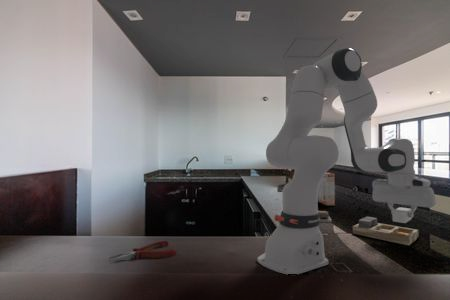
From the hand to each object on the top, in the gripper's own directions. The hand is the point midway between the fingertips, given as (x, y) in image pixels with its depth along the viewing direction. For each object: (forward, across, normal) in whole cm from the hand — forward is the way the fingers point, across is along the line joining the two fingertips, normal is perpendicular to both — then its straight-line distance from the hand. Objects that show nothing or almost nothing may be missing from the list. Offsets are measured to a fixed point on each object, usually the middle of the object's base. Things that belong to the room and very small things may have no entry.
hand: (402, 215), depth 100 cm
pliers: (+9, -54, -81) cm, 97 cm away
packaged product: (+10, -40, +3) cm, 41 cm away
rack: (+9, -6, 0) cm, 11 cm away
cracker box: (+10, -55, +47) cm, 73 cm away
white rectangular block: (+2, 0, 0) cm, 2 cm away
